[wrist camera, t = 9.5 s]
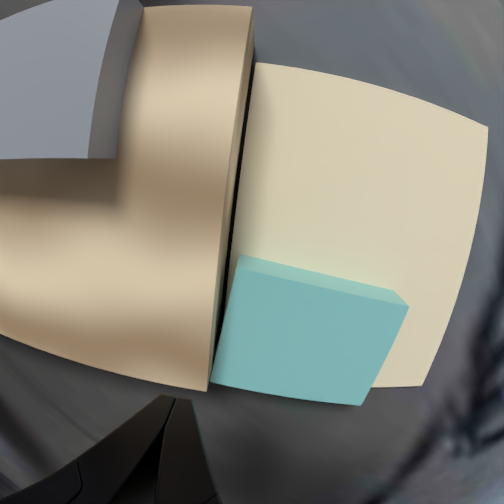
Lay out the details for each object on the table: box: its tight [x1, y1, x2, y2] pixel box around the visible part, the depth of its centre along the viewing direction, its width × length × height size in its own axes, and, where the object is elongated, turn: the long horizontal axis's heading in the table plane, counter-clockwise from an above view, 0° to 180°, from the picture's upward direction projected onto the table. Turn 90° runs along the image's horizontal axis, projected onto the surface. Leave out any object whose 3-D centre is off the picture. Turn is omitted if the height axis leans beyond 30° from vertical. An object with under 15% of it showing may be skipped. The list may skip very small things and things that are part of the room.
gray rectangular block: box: [0, 0, 144, 159], centre depth 8 cm, size 6×8×2 cm
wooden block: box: [0, 5, 254, 392], centre depth 12 cm, size 15×18×4 cm
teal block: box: [210, 254, 409, 405], centre depth 14 cm, size 6×8×2 cm
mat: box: [223, 63, 488, 387], centre depth 14 cm, size 16×13×1 cm
